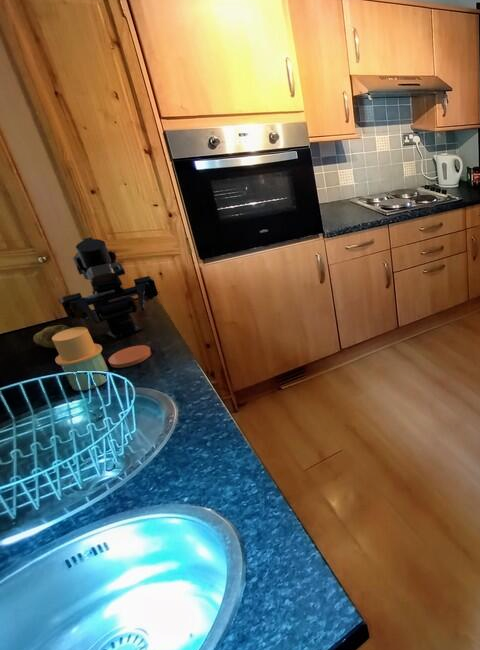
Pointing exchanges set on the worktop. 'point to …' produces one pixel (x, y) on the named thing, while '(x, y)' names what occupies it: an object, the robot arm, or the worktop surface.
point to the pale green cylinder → (89, 365)
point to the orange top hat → (75, 346)
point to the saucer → (129, 356)
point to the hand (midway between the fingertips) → (120, 315)
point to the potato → (48, 335)
